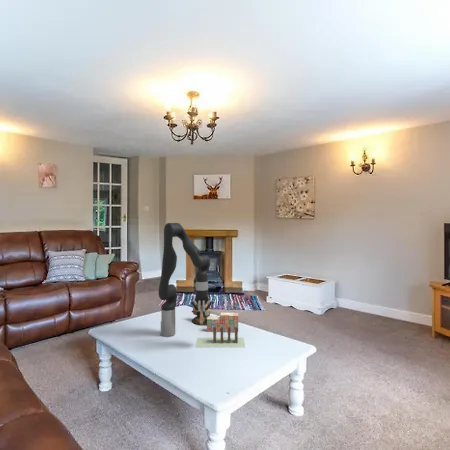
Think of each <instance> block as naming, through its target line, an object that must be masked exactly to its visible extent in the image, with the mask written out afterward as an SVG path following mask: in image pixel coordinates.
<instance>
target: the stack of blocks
mask: <svg viewBox="0 0 450 450" xmlns="http://www.w3.org/2000/svg"><path fill="white" fill-rule="evenodd" d="M213 325H216V333H221V325H223V333H228V325H230V334H231V333H233V334H235V325H237V326H238V327H239V312H220V315H219V316H209V317H208V318H207V325H206V332H207V333H213Z"/></svg>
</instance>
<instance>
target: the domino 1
mask: <svg viewBox="0 0 450 450" xmlns="http://www.w3.org/2000/svg"><path fill="white" fill-rule="evenodd" d="M202 325H203V306H201V308H200V325H199V326H202Z"/></svg>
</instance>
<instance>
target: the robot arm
mask: <svg viewBox="0 0 450 450" xmlns="http://www.w3.org/2000/svg"><path fill="white" fill-rule="evenodd" d="M176 237H177V238H178V239H180V240H181V242H182V247H183V251H185V253H186V254H187V255H188V256H189V258H190V260H191V262H192V264H193V266H194V267H195V268H198V269H199V270H198V271H196V273H195V297H194V299H193V300H191V305H192V306H193V307H192V308H195V310H198V316H200V308H201V305H203V317H204V316H205V311H206V310H208V309H210V307H211V306H212V304H213V300H210V298H209V281H208V277H209V276H208V275H209V271H210V266H211V258H210V257H209V256H208V255H205V254H204V255H200V253H201V252H200V249H199V248H198V247H197V246H196V244H194V242H193V241H192V240H191V238H190V237H189V235H188V234H187V232H186V230H185V229H184V227H183V225H182V224H180V223H178V222H167V223H166V224H165V225H164V229H163V254H162V261H161V263H162V264H161V275H160V280H159V286H158V298H159V299H160V300H162V301H164V302H163V303H162V304H161V306H160V308H161V311H160V313H161V316H160V317H161V321H160V336H161V337H166V338H169V337H174V336H175V335H176V306H177V299H178V295H177V291H178V290H177V288H176V286H175V285H174V284H171V283H170V279H171V277H172V276H173V274H174V272H175V270H176V268H177V264H178V263H177V262H178V256H177V253H176V250H175V248H174V247H173V246H174V245H173V238H176ZM195 302H196V303H197V304H198V307H197V306H196V304H195ZM206 303H207V304H208V306H207V307H206V308H205V305H206Z"/></svg>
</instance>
